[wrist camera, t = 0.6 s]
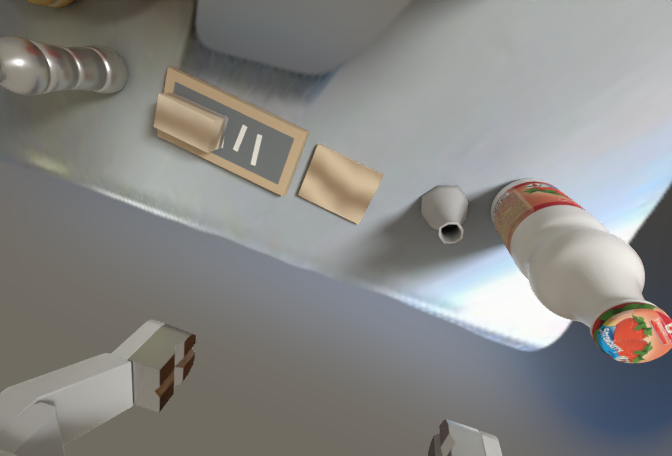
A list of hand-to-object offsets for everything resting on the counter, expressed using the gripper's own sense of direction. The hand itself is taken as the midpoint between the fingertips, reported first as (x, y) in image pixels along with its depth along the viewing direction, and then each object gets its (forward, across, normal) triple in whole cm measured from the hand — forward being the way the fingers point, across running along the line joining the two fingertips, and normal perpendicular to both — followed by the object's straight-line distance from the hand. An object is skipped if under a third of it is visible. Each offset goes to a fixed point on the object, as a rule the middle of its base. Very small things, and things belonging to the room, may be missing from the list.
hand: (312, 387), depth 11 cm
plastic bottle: (+44, +45, 0) cm, 63 cm away
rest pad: (+44, +6, +8) cm, 45 cm away
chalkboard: (+44, +24, +4) cm, 50 cm away
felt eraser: (+42, +29, +4) cm, 52 cm away
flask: (+44, -11, +7) cm, 46 cm away
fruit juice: (+44, -21, +3) cm, 49 cm away
